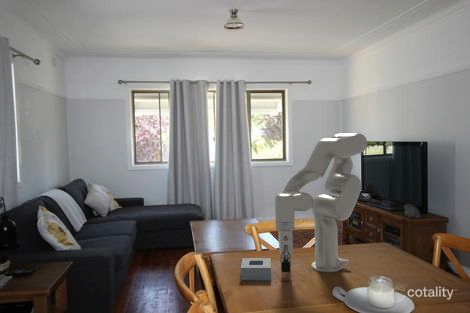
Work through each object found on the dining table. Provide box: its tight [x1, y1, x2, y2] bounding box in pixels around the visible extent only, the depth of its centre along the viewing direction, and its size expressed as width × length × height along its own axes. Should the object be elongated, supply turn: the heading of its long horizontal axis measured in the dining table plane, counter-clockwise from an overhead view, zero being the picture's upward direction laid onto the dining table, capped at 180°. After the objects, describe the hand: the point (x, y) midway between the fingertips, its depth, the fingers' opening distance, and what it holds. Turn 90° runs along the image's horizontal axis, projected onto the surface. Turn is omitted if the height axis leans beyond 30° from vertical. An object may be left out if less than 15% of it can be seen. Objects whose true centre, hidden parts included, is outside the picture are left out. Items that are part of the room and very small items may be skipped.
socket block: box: [240, 257, 272, 281], centre depth 159 cm, size 12×12×5 cm
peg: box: [280, 253, 292, 282], centre depth 153 cm, size 4×4×10 cm
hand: (285, 267), depth 152 cm, fingers open, 9 cm apart
